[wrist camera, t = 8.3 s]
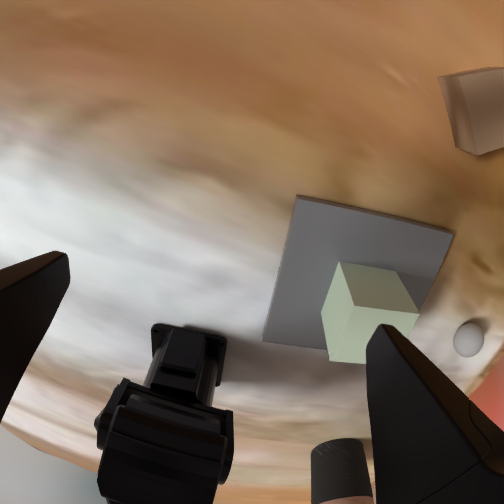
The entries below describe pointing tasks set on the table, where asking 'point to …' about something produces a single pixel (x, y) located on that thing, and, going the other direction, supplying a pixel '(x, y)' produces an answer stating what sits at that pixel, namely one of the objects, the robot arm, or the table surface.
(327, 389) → the table surface
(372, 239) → the plate
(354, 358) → the sage block
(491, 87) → the walnut block
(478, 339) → the grey ball
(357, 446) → the travel mug
